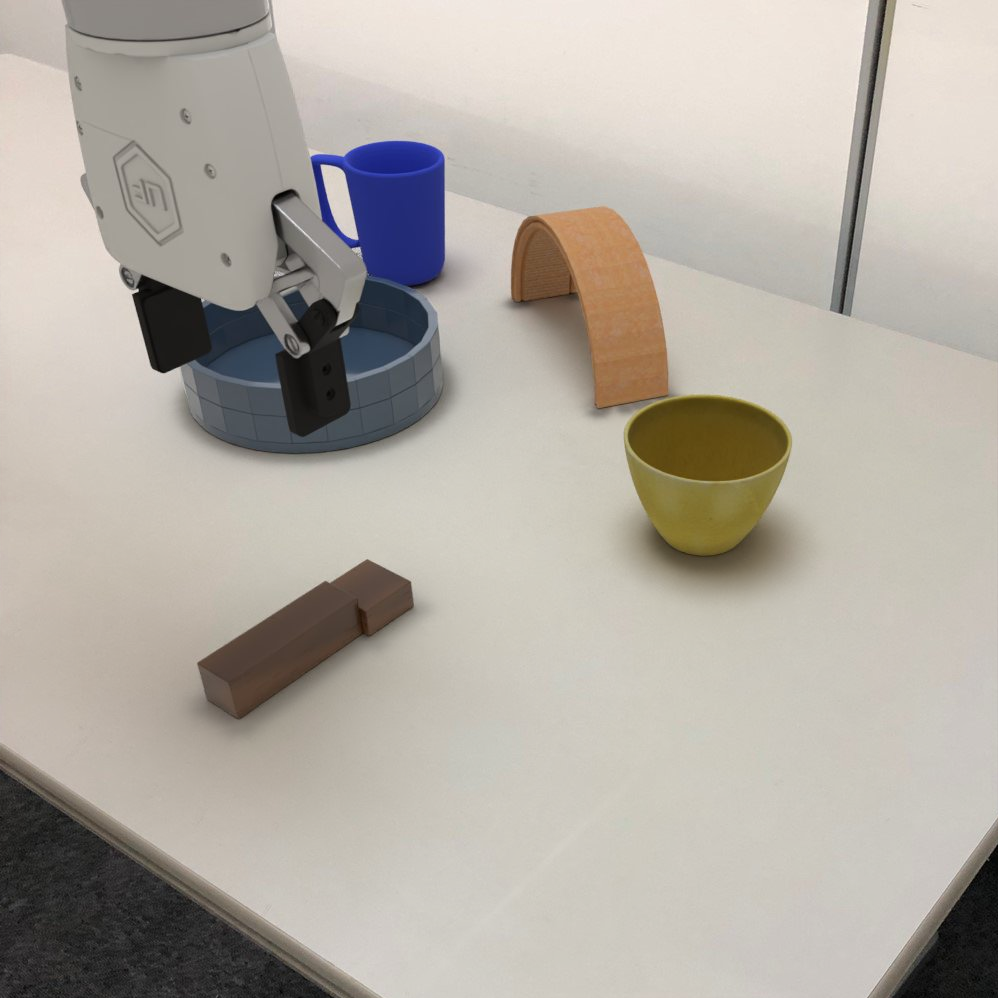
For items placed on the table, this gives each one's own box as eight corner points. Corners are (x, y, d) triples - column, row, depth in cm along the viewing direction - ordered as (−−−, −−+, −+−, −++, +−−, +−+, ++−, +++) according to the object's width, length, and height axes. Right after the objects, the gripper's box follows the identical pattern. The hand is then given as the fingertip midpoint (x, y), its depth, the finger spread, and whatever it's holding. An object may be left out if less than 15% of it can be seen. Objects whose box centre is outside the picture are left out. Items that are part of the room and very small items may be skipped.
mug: (348, 242, 114) (332, 129, 107) (469, 263, 111) (461, 147, 104) (300, 278, 108) (281, 160, 101) (426, 300, 105) (415, 180, 98)
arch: (576, 287, 107) (574, 169, 101) (668, 395, 93) (673, 266, 87) (511, 297, 106) (505, 177, 99) (595, 408, 92) (595, 278, 85)
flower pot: (738, 601, 74) (748, 499, 70) (592, 550, 78) (592, 450, 74) (806, 518, 81) (818, 420, 77) (668, 474, 85) (672, 379, 80)
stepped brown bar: (199, 695, 67) (189, 658, 66) (370, 582, 75) (365, 547, 73) (244, 723, 66) (235, 686, 64) (414, 605, 74) (410, 569, 72)
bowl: (135, 398, 91) (118, 334, 88) (324, 311, 103) (315, 252, 100) (309, 483, 83) (298, 416, 80) (494, 378, 95) (490, 316, 92)
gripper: (-53, -25, 50) (69, 368, 60) (235, 50, 42) (316, 487, 53) (110, -56, 54) (196, 314, 65) (397, 6, 46) (440, 416, 57)
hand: (249, 391), depth 59 cm, fingers open, 9 cm apart
